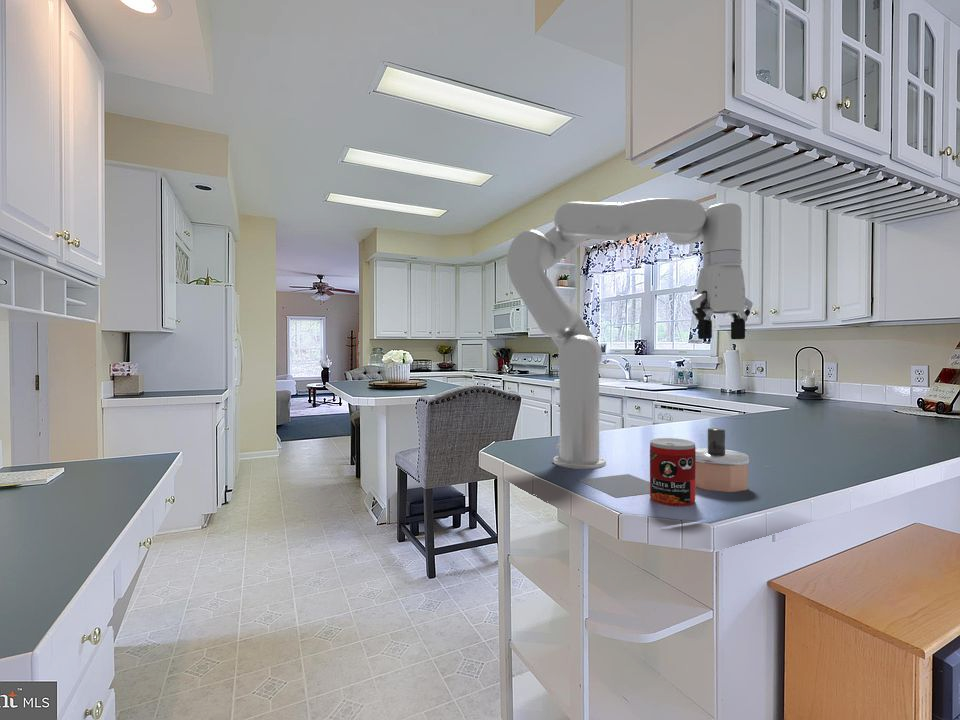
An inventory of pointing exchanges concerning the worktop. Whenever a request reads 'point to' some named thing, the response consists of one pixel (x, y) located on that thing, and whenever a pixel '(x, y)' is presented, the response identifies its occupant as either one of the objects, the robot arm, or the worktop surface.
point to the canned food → (672, 471)
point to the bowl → (721, 477)
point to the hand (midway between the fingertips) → (721, 338)
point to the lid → (719, 451)
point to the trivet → (619, 485)
